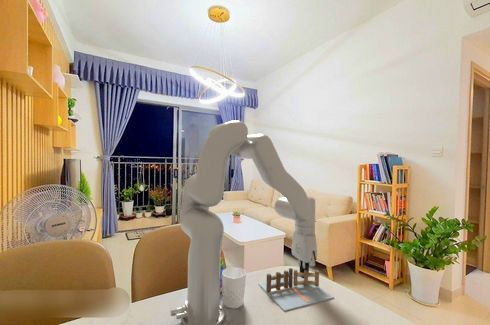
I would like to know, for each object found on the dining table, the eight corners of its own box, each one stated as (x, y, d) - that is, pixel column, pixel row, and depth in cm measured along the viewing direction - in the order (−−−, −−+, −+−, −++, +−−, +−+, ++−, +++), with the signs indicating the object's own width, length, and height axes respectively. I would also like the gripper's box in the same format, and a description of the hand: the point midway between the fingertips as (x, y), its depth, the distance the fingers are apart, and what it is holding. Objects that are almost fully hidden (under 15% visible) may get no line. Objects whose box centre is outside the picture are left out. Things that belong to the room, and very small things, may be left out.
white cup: (241, 294, 86) (242, 266, 86) (248, 307, 78) (248, 276, 78) (219, 297, 84) (220, 268, 84) (223, 311, 76) (224, 279, 76)
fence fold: (293, 286, 91) (294, 271, 91) (293, 284, 92) (293, 269, 92) (318, 286, 91) (319, 271, 91) (317, 284, 92) (318, 270, 92)
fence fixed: (268, 294, 87) (268, 274, 87) (266, 292, 88) (266, 272, 88) (293, 288, 91) (293, 269, 91) (290, 286, 92) (291, 267, 92)
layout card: (284, 311, 77) (284, 310, 77) (258, 284, 93) (258, 283, 93) (333, 298, 85) (333, 296, 85) (301, 275, 101) (301, 274, 101)
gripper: (285, 225, 99) (284, 270, 99) (310, 235, 86) (309, 288, 86) (300, 223, 102) (299, 267, 103) (326, 233, 89) (325, 283, 89)
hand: (304, 276), depth 94 cm, fingers closed
